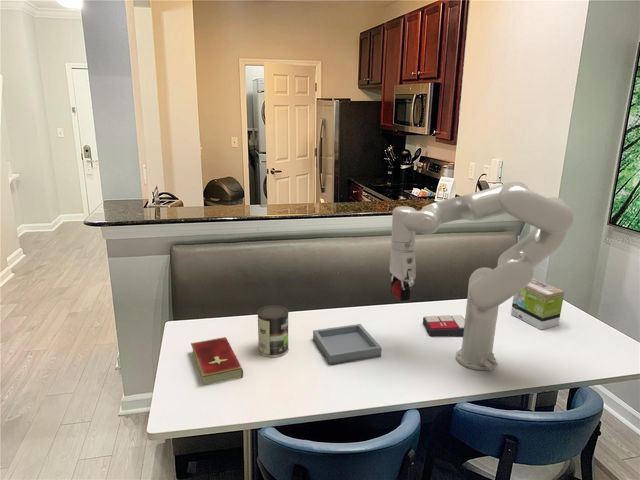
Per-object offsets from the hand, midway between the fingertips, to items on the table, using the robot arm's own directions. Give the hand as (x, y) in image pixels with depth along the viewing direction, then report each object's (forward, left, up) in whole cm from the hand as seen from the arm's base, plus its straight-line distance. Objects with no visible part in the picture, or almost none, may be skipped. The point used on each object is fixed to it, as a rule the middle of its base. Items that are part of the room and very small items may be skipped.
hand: (400, 295), depth 156 cm
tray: (+4, +17, -19) cm, 26 cm away
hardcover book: (+6, +61, -20) cm, 64 cm away
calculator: (+6, -24, -20) cm, 31 cm away
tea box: (+3, -62, -19) cm, 65 cm away
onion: (0, 0, -2) cm, 2 cm away
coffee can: (+10, +41, -19) cm, 47 cm away
